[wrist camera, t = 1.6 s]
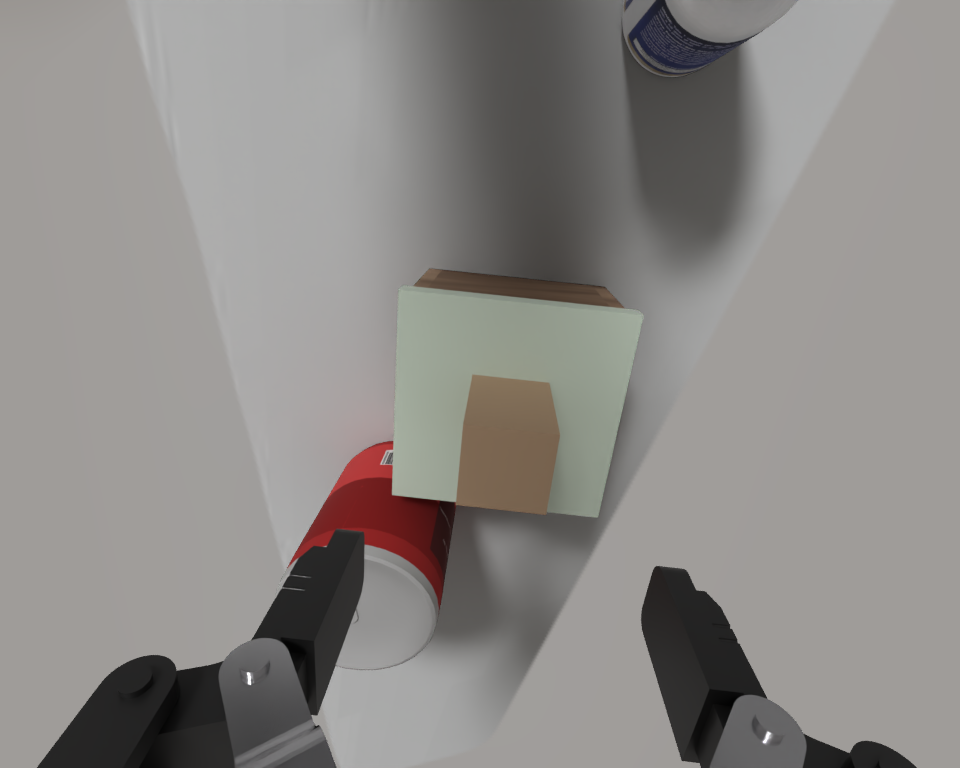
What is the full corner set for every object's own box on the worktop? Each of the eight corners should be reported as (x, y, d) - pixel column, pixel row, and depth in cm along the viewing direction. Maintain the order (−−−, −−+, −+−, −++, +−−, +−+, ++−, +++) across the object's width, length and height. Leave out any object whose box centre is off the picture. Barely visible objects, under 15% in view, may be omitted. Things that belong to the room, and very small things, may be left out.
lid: (402, 285, 22) (367, 319, 16) (637, 309, 22) (682, 352, 16) (396, 484, 26) (365, 565, 20) (594, 505, 26) (618, 594, 20)
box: (429, 268, 28) (408, 291, 22) (604, 286, 28) (631, 315, 22) (421, 424, 32) (400, 480, 26) (575, 441, 32) (590, 501, 26)
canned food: (322, 462, 33) (240, 585, 23) (424, 418, 32) (385, 528, 21) (379, 546, 36) (328, 689, 26) (477, 508, 34) (464, 646, 24)
